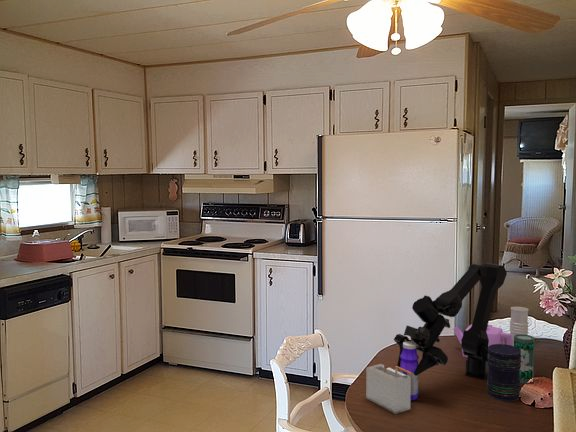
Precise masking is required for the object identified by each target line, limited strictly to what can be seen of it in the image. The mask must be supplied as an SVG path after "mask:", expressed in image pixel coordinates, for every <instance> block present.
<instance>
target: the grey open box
mask: <svg viewBox="0 0 576 432" xmlns="http://www.w3.org/2000/svg"><path fill="white" fill-rule="evenodd" d="M365 378H366V381H365V382H366V384H365V385H366V394H365V395H366V400H368V401H371V402H372V403H374V404H376V405H377V406H380V407H381V408H383V409H385V410H387V411H389V412H390V413H392V414H394V415H398V414H401V413H403V412H406V411H409V410H411V400H410V396H411V377H410V376H409V375H404V376H401V377H398V378H396V377H394V376H392V375H389V374H387V373H386V371H385V365H384V364H382V363H378V364H374V365H372V366H371V365H370V366H367V367H366V377H365Z"/></svg>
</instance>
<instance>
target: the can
mask: <svg viewBox="0 0 576 432" xmlns="http://www.w3.org/2000/svg"><path fill="white" fill-rule="evenodd" d="M535 343H536V338H535V336H533V335H529V334H527V335H525V334H524V335H523V334H518V335H515V336H514V346H515V347H517V348H519V349H520V350H521V354H520V355H521V368H520V374H519V379H520V384H523V385H524V384H525V385H527V384H526V383H527V382H528V381H529V380H530V379H532V378H535V374H534V373H535V352H536V351H535V349H536V348H535V347H536V345H535Z"/></svg>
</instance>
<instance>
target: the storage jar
mask: <svg viewBox="0 0 576 432" xmlns="http://www.w3.org/2000/svg"><path fill="white" fill-rule="evenodd" d="M520 354H521V350H520V349H519V348H517V347H515V346H511V345H507V343H505V344H493V345H490V346H489V347H488V361H487V362H488V376H487V377H486V380H487V381H486V388H487V389H486V394H487V396H489V398H492V399H494V400H497V401H499V402H500V401H501V402H515V401H518V400H520V398H519V395H520V392H521V383H520V379H519V374H520V368H521V355H520Z"/></svg>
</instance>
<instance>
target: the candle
mask: <svg viewBox="0 0 576 432" xmlns="http://www.w3.org/2000/svg"><path fill="white" fill-rule="evenodd" d="M529 310H530V309H529V308H527V307H524V306H511V307H510V320H509V332H510V333H509V334H512V338H513V346H514V336H515V335H518V334H523V335H524V334H525V335H528V334H529V322H528V320H529V319H528V318H529Z"/></svg>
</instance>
